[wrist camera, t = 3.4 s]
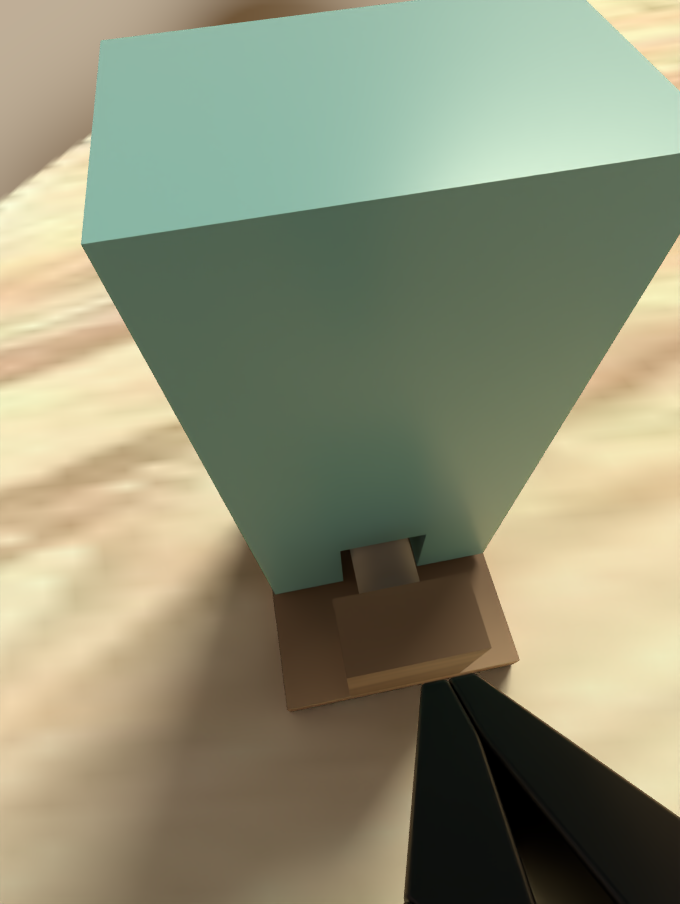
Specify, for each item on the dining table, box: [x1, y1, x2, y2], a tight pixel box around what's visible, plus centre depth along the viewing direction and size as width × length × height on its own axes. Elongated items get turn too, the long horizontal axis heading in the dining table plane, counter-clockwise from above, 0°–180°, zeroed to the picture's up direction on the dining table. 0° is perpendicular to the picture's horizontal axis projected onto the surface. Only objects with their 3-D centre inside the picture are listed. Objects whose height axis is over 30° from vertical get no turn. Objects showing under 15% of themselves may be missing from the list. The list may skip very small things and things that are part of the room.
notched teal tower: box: [81, 0, 680, 594], centre depth 11 cm, size 4×6×12 cm, turn 101°
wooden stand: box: [272, 538, 519, 712], centre depth 17 cm, size 18×6×5 cm, turn 11°
